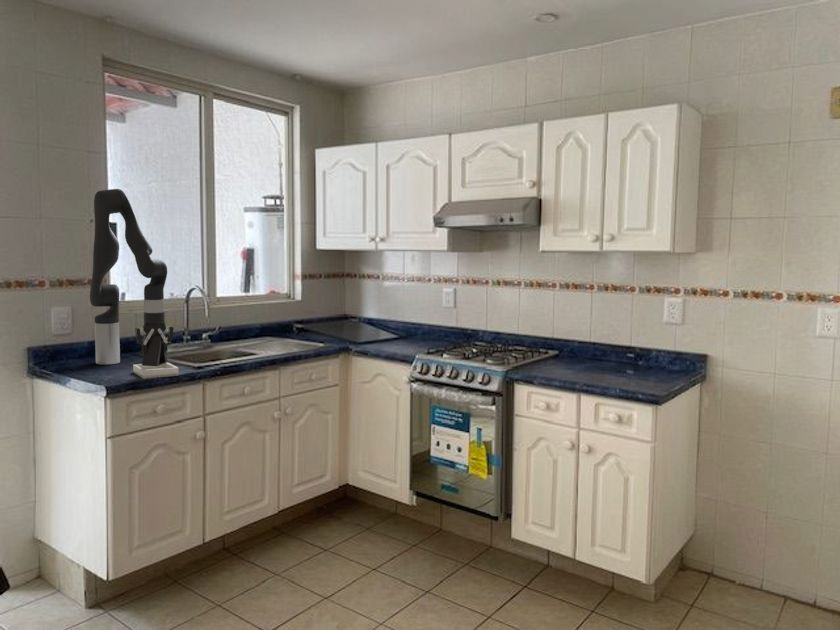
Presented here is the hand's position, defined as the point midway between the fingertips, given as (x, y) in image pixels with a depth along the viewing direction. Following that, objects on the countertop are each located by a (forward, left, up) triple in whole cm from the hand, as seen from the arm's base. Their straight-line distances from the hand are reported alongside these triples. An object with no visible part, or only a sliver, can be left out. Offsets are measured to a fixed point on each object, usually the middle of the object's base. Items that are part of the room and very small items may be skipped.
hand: (154, 353), depth 250 cm
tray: (0, 0, -8) cm, 8 cm away
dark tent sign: (0, 0, -4) cm, 4 cm away
